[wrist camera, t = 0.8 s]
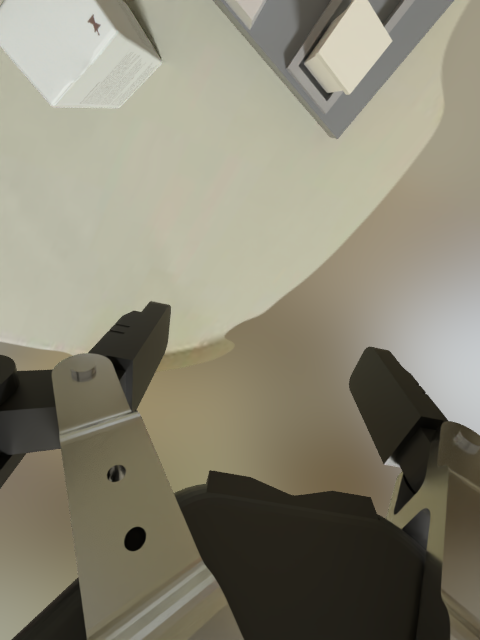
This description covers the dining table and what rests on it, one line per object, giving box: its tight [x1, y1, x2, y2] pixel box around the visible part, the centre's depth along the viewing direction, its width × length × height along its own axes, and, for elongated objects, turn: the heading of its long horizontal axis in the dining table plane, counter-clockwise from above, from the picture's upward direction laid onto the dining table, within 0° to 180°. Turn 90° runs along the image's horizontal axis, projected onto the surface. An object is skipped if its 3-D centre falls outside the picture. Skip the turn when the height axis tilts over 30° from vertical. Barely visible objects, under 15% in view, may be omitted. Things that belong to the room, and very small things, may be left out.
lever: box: [304, 0, 392, 95], centre depth 20 cm, size 3×3×6 cm
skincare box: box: [0, 0, 162, 108], centre depth 19 cm, size 6×4×12 cm
